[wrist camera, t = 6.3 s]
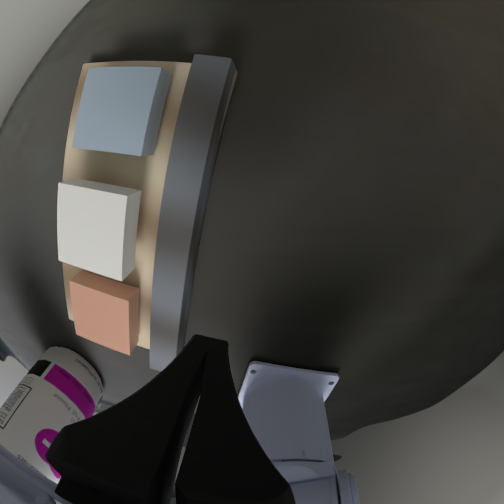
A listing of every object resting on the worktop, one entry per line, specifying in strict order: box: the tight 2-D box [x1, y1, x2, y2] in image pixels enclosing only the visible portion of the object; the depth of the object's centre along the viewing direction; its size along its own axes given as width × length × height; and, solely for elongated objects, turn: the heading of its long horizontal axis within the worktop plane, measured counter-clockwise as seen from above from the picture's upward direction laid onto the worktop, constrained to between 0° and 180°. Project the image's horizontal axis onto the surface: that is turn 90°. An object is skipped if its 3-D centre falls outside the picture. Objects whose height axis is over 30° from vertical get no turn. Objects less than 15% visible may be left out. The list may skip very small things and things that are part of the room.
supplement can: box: [0, 346, 104, 484], centre depth 17 cm, size 8×8×15 cm
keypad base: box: [62, 54, 237, 371], centre depth 16 cm, size 21×11×3 cm, turn 167°
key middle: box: [57, 178, 142, 281], centre depth 15 cm, size 5×5×2 cm
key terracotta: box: [69, 270, 139, 355], centre depth 18 cm, size 5×5×2 cm
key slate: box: [72, 67, 172, 156], centre depth 13 cm, size 5×5×2 cm
